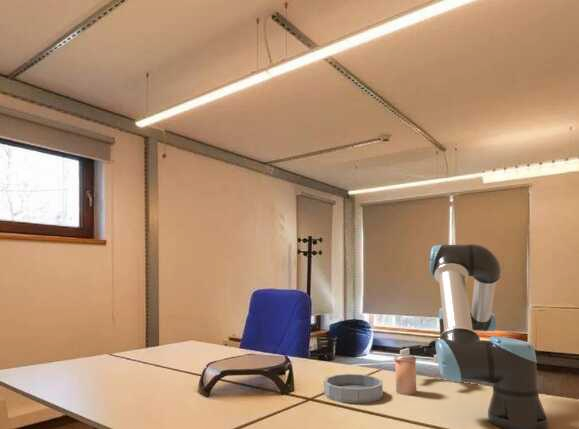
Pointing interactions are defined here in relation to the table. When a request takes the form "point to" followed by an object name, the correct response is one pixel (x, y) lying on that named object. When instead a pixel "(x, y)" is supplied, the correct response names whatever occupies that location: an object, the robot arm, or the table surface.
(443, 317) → the robot arm
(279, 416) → the table surface
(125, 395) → the table surface
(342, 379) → the slate bowl
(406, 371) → the terracotta jar
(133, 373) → the table surface
